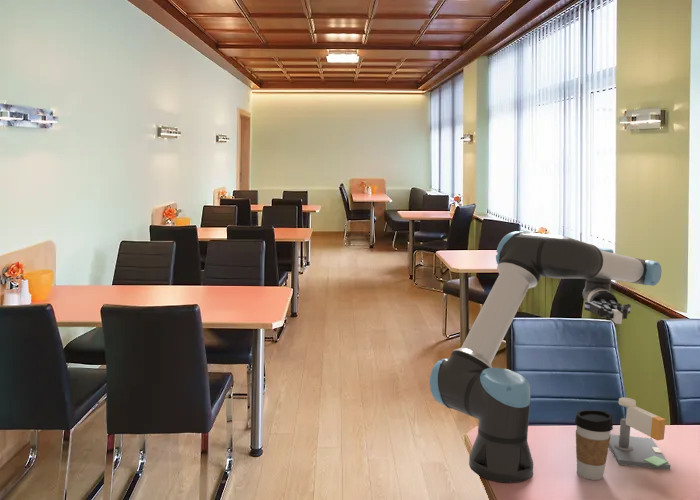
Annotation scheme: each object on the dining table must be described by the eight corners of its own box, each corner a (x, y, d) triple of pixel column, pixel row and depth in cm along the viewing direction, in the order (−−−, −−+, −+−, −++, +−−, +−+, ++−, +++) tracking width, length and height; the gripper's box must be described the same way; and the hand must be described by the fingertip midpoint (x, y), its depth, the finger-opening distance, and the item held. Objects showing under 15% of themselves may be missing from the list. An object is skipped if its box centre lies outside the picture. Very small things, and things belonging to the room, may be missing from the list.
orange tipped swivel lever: (611, 443, 161) (615, 398, 160) (623, 441, 163) (627, 396, 161) (652, 465, 149) (656, 416, 148) (664, 463, 151) (668, 415, 149)
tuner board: (619, 467, 152) (620, 461, 152) (604, 438, 169) (604, 432, 169) (672, 472, 150) (672, 466, 149) (651, 442, 167) (651, 437, 166)
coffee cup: (612, 484, 143) (617, 422, 141) (574, 480, 145) (578, 419, 143) (604, 468, 151) (609, 409, 149) (568, 464, 153) (572, 405, 151)
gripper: (624, 316, 187) (644, 334, 164) (579, 312, 190) (592, 330, 167) (626, 291, 186) (646, 307, 163) (581, 288, 189) (594, 303, 166)
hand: (619, 318), depth 165 cm, fingers closed
